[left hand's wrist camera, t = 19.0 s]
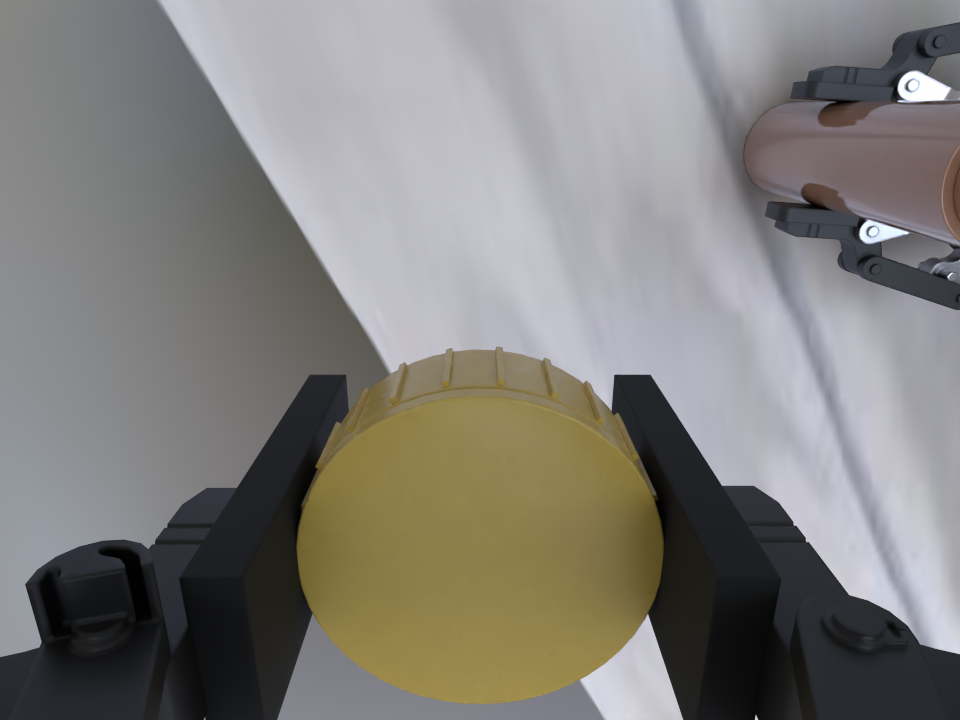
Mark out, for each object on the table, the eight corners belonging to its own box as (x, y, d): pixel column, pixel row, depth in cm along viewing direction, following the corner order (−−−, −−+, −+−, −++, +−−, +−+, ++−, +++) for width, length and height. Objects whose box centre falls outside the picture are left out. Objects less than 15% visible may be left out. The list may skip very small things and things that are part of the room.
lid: (317, 608, 13) (289, 694, 11) (325, 326, 11) (293, 371, 9) (608, 633, 13) (630, 721, 11) (668, 361, 11) (707, 412, 9)
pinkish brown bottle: (848, 122, 37) (1190, 135, 19) (803, 205, 38) (1080, 290, 21) (770, 88, 36) (1049, 69, 18) (727, 175, 38) (946, 234, 20)
